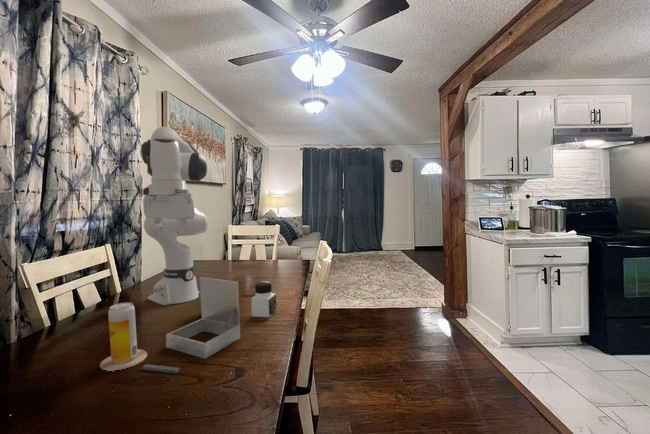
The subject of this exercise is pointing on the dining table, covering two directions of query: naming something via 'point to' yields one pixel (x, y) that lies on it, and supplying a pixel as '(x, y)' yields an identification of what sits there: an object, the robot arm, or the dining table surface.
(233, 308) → the case
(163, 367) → the bar
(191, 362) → the dining table surface
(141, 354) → the pad
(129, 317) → the beer can
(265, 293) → the medicine bottle
